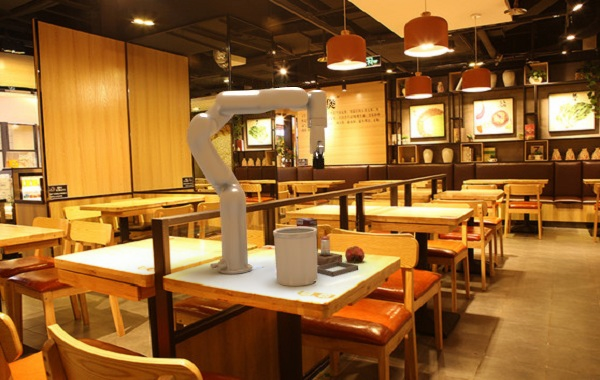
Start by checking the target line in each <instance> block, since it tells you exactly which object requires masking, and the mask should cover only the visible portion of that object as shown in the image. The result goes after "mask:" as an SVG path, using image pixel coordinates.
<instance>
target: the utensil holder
mask: <svg viewBox="0 0 600 380" xmlns="http://www.w3.org/2000/svg"><path fill="white" fill-rule="evenodd" d="M316 234H317V235H318V228H317V229H316V228H314V227H305V226H297V225H296V226H285V227H281V228H275V229H274V230H273V231H272V235H273V239H274V254H275V256H274V258H275V259H274V260H275V269H276V270H275V271H276V281H277V283H278V284H279V285H282V286H287V287H303V286H309V285H311V284H314V283H316V282H317V279H318V273H317V266H318V265H317V238H316Z"/></svg>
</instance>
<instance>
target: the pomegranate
mask: <svg viewBox="0 0 600 380" xmlns="http://www.w3.org/2000/svg"><path fill="white" fill-rule="evenodd" d="M344 254H345V259H346V261H347V263H353V265H356V263H363V262H364V259H365V252H364V250H363V248H360V247H359V246H357V245H354V246H349V248H347V249H346V250H345V253H344Z"/></svg>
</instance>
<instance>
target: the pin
mask: <svg viewBox="0 0 600 380" xmlns="http://www.w3.org/2000/svg"><path fill="white" fill-rule="evenodd" d="M330 239H331V238H330V236H329V235H321V236H320V253H321V256H323V257H328V256H330V253H331V249H330V248H331V243H330V242H331V241H330Z"/></svg>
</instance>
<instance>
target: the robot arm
mask: <svg viewBox="0 0 600 380" xmlns="http://www.w3.org/2000/svg"><path fill="white" fill-rule="evenodd" d="M214 100H215V101H214V103H213V104H212V105H211V106H210V108H208V109H207V110H206V111H205V112H200V113H198V114H196V115H194V116H193V117H192V119H191V121H190V122H189V124H188V126H187V129H186V142H187V147H188V149H189V151H190V153H191V155H192V156H193V159H194V160H195V162H196V164H197V165H198V167H199V168H200V170H201V172H202V174H203V175H204V177H205V179H206V181H207V183H208V184H210V185H211V186H212V188H213V190H214V191H215V193H216V194H217V196H218V199H219V213H220V214H219V215H220V218H219V219H220V231H221V232H220V233H221V235H220V236H221V258H219V261H218V262H213V263H211V264H210V269H211V270H214V269H218V272H219V273H221V274H227V275H228V274H229V275H236V274H244V273H248V272H250V271H252V270H253V265H251V264H250V263H249V255H248V227H247V226H248V225H247V197H246V193H245V191H244V189H243V188H242V186H241V184H240V182H239V180H238V179H237V178H236V176H235V173H234V172H233V171H232V169H231V167H230V166H229V165H228V164H227V163H226V162H225V161H224V160H223V158H222V157H221V155H220V154H219V152H218V150H217V148H216V146H215V145H214V143H213V141H212V137H213V136H215V135H216V134H217V133H218V132H219V131H220V130H221V129H222V128H223V127H225V125H226V124H227V123H228V122H229V121H230V119H232V118H233V117H234V115H248V114H249V115H250V114H251V115H252V114H254V115H255V114H256V115H257V114H264V113H266V112H270V111H274V110H275V111H276V110H290V111H292V112H302V111H306V121H307V122H306V123H307V124H306V125H307V126H306V127H307V129H309V154H310V155H312V159H311V160H312V169H313V170H325V169H326V168H325V165H326V164H325V152H326V136H325V135H326V134H325V133H326V132H325V130H326V128H328V107H327V106H328V103H327V101H328V99H327V92H326V91H325V90H322V89H315V90H308V91H306V90H305V89H303V88H302V87H301V88H300V87H279V88H278V87H277V88H265V89H252V90H250V89H248V90H225V91H221V92H219V93H218V94H217V95H216V97H215V99H214Z"/></svg>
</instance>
